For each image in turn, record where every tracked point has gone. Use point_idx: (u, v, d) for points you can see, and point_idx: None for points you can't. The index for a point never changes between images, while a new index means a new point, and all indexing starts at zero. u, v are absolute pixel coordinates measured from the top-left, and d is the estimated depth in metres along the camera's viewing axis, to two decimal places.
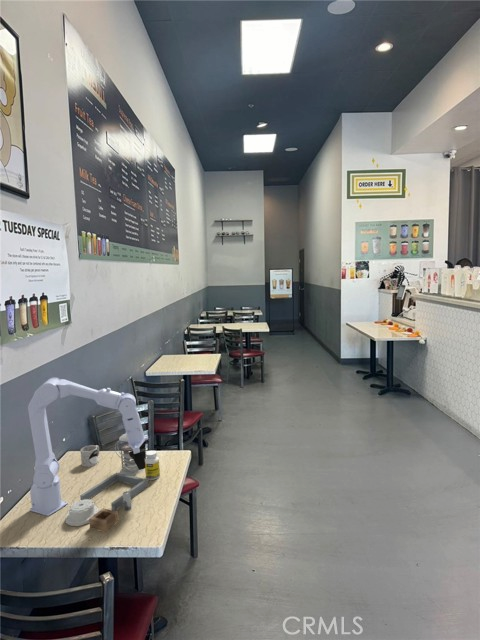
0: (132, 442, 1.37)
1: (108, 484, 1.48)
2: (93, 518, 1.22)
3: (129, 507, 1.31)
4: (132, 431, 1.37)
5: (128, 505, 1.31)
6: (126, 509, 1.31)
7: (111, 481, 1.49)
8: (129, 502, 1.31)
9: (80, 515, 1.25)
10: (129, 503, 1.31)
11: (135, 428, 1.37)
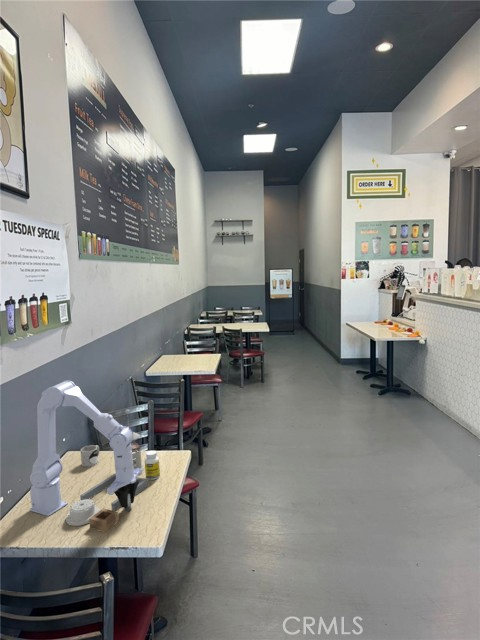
0: (116, 480, 1.29)
1: (108, 484, 1.48)
2: (93, 518, 1.22)
3: (129, 507, 1.31)
4: (117, 469, 1.28)
5: (128, 505, 1.31)
6: (126, 509, 1.31)
7: (111, 481, 1.49)
8: (129, 502, 1.31)
9: (80, 515, 1.25)
10: (129, 503, 1.31)
11: (123, 467, 1.28)
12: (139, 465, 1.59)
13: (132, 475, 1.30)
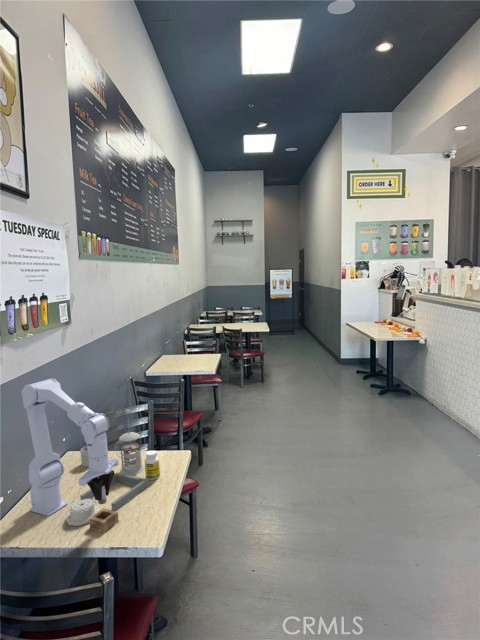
0: (90, 470, 1.20)
1: None
2: (93, 518, 1.22)
3: (104, 500, 1.22)
4: (90, 458, 1.19)
5: (103, 498, 1.22)
6: (101, 502, 1.22)
7: (111, 481, 1.49)
8: (104, 495, 1.22)
9: (81, 515, 1.25)
10: (104, 496, 1.22)
11: (93, 457, 1.19)
12: (139, 465, 1.59)
13: (107, 465, 1.21)
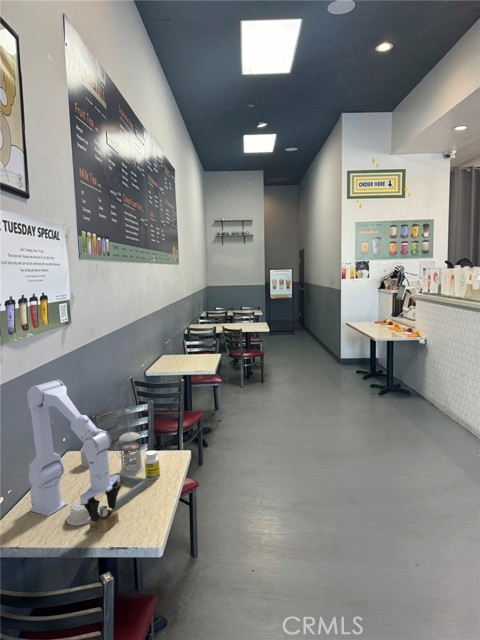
0: (91, 487, 1.21)
1: None
2: None
3: None
4: (92, 476, 1.20)
5: None
6: None
7: None
8: (106, 517, 1.23)
9: (81, 515, 1.25)
10: None
11: (94, 474, 1.19)
12: (139, 465, 1.59)
13: (108, 482, 1.22)
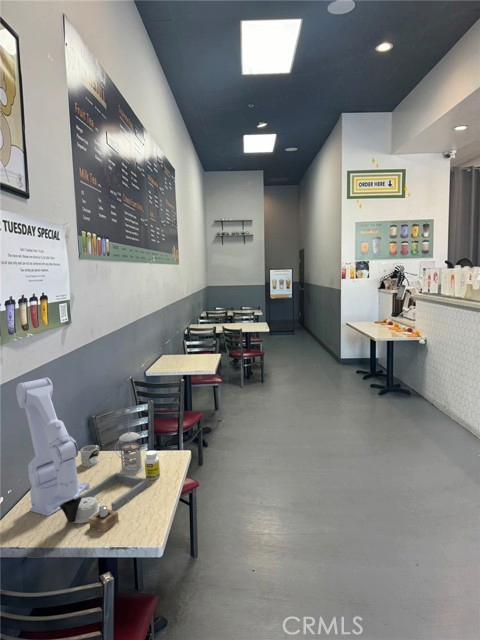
0: (59, 495, 1.22)
1: (108, 484, 1.48)
2: (93, 518, 1.22)
3: None
4: (59, 484, 1.21)
5: None
6: None
7: (111, 481, 1.49)
8: (106, 517, 1.23)
9: (84, 513, 1.26)
10: None
11: (59, 482, 1.21)
12: (139, 465, 1.59)
13: (76, 490, 1.23)
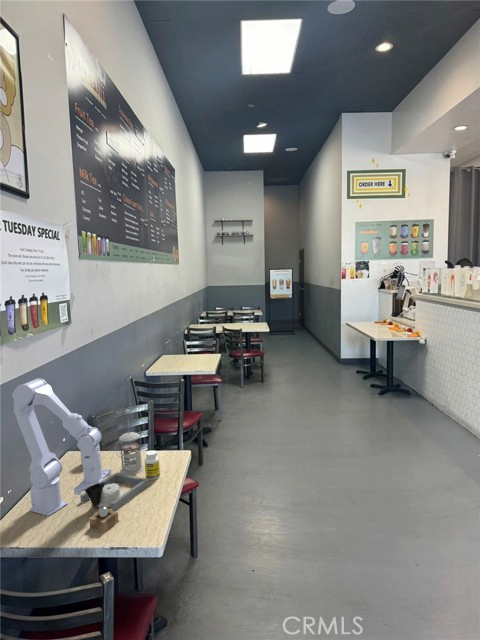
0: (84, 480, 1.31)
1: None
2: (93, 518, 1.22)
3: None
4: (85, 469, 1.30)
5: None
6: None
7: (111, 481, 1.49)
8: (106, 517, 1.23)
9: (105, 498, 1.34)
10: None
11: (90, 467, 1.30)
12: (139, 465, 1.59)
13: (100, 475, 1.32)
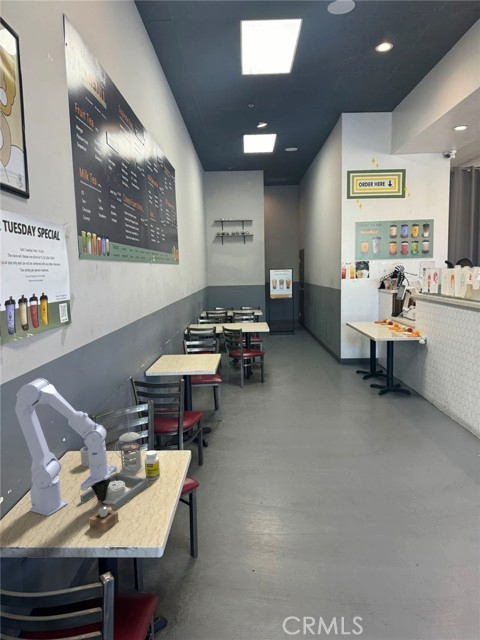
0: (90, 476, 1.33)
1: None
2: (93, 518, 1.22)
3: None
4: (91, 466, 1.32)
5: None
6: None
7: (111, 481, 1.49)
8: (106, 517, 1.23)
9: (109, 495, 1.37)
10: None
11: (98, 464, 1.32)
12: (139, 465, 1.59)
13: (106, 472, 1.34)
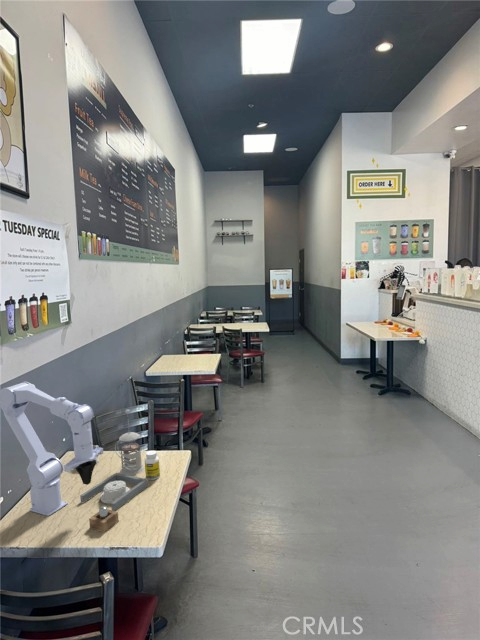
0: (75, 457, 1.28)
1: None
2: (93, 518, 1.22)
3: None
4: (75, 446, 1.27)
5: None
6: None
7: (111, 481, 1.49)
8: (106, 517, 1.23)
9: (110, 495, 1.37)
10: None
11: (80, 445, 1.26)
12: (139, 465, 1.59)
13: (91, 453, 1.29)
